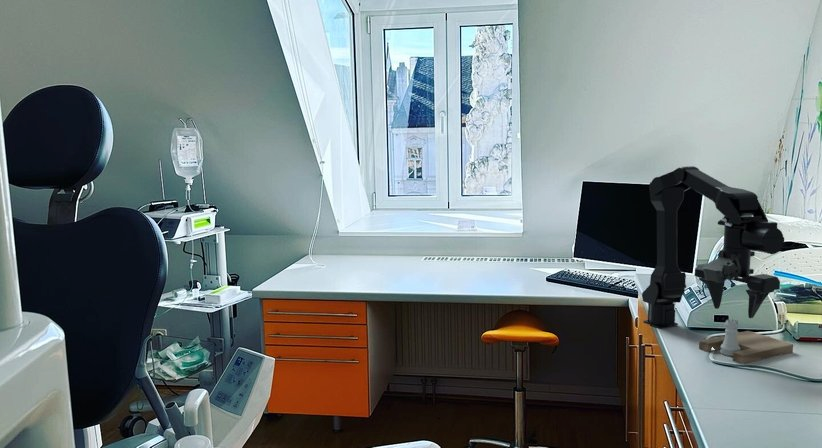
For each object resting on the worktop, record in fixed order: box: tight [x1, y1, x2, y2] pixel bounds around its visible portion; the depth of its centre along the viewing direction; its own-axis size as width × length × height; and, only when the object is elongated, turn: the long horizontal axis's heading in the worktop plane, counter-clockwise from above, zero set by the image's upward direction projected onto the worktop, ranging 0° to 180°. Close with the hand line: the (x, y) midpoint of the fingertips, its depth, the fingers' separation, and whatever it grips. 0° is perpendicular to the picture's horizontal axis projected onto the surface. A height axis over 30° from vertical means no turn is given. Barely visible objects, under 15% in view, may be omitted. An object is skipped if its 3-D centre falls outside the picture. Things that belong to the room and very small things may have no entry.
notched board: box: [698, 330, 794, 365], centre depth 162 cm, size 12×17×2 cm
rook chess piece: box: [719, 318, 741, 357], centre depth 160 cm, size 4×4×8 cm
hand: (733, 313), depth 159 cm, fingers open, 9 cm apart
